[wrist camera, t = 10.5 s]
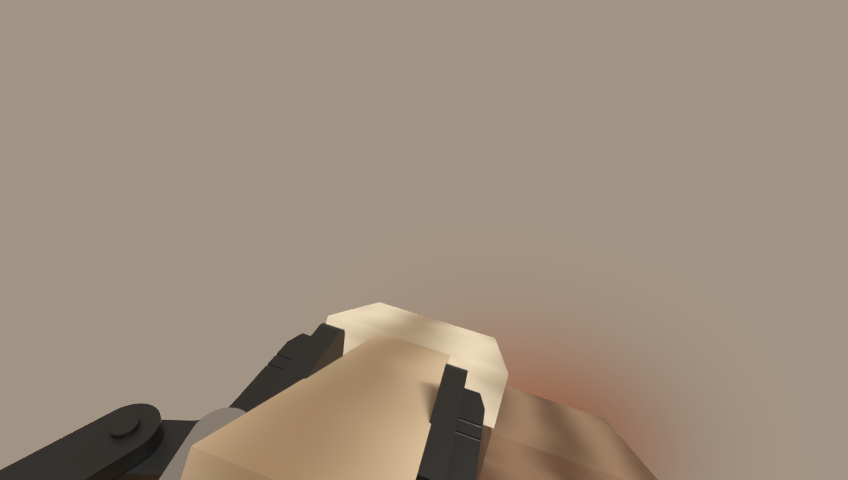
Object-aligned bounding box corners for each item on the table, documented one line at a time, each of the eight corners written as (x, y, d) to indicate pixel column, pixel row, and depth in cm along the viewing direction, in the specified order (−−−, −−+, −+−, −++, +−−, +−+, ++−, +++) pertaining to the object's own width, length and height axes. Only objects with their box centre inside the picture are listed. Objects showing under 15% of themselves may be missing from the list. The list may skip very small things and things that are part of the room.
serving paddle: (485, 371, 26) (494, 338, 26) (550, 813, 5) (598, 612, 5) (369, 334, 28) (379, 302, 28) (-1, 539, 6) (51, 388, 6)
